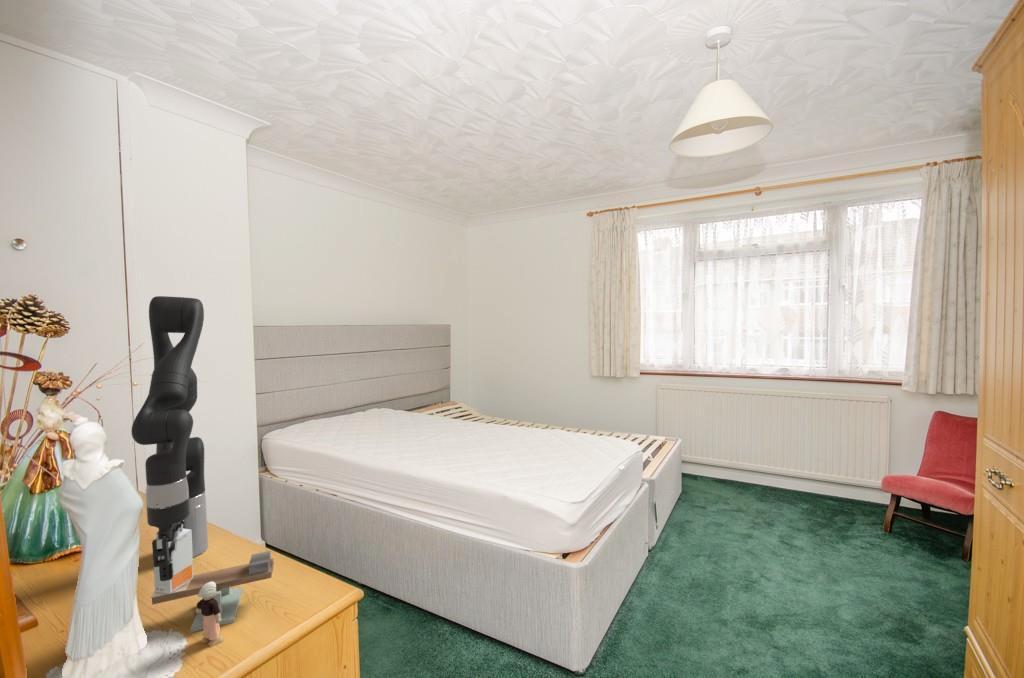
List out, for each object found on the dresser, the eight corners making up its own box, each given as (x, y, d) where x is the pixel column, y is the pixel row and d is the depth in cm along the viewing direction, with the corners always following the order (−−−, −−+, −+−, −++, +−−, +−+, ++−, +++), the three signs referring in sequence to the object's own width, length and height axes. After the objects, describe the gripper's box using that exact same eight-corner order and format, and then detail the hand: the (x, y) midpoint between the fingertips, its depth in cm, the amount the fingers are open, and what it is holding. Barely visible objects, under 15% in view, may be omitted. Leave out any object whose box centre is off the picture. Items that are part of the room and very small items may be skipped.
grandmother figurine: (233, 635, 97) (230, 580, 96) (218, 649, 93) (215, 591, 92) (204, 629, 99) (201, 575, 98) (188, 642, 95) (185, 585, 94)
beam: (162, 592, 104) (160, 570, 103) (274, 567, 112) (273, 547, 112) (150, 613, 97) (148, 590, 96) (271, 585, 105) (269, 563, 105)
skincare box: (170, 595, 98) (167, 542, 97) (154, 592, 99) (151, 540, 98) (194, 578, 104) (192, 528, 103) (179, 576, 105) (176, 526, 104)
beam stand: (205, 598, 109) (203, 571, 108) (242, 590, 112) (241, 564, 111) (191, 632, 98) (189, 601, 97) (233, 622, 101) (232, 593, 100)
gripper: (158, 489, 105) (163, 556, 106) (134, 516, 91) (139, 593, 93) (196, 484, 107) (200, 550, 109) (178, 510, 94) (182, 584, 96)
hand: (172, 569), depth 101 cm, fingers closed on skincare box, 7 cm apart
